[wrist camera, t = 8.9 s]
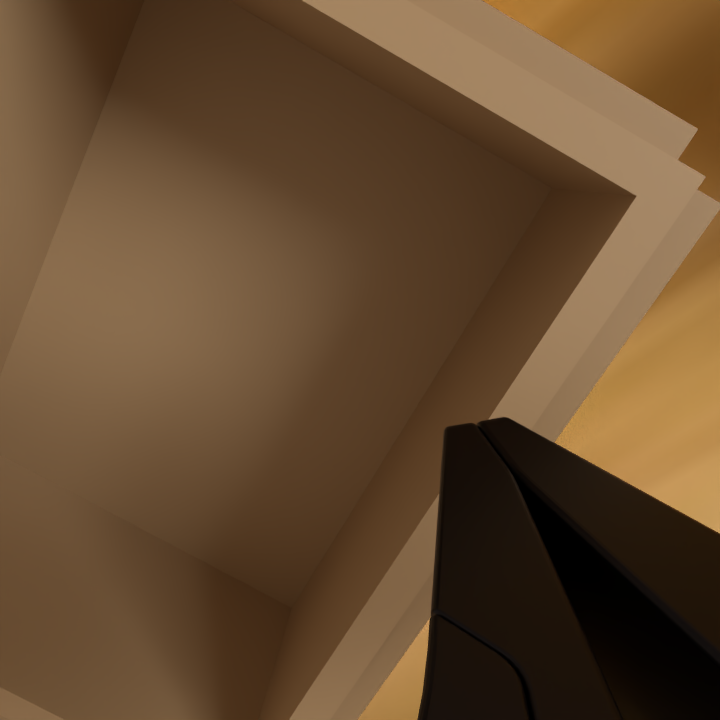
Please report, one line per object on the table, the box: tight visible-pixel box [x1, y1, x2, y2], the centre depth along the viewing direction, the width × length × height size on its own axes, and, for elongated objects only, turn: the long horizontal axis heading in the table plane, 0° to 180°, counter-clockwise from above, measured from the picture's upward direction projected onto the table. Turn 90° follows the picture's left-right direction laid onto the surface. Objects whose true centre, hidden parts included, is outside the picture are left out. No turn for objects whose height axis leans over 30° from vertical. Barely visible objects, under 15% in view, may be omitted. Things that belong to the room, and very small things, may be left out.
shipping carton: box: [0, 0, 720, 720], centre depth 17 cm, size 15×19×8 cm
